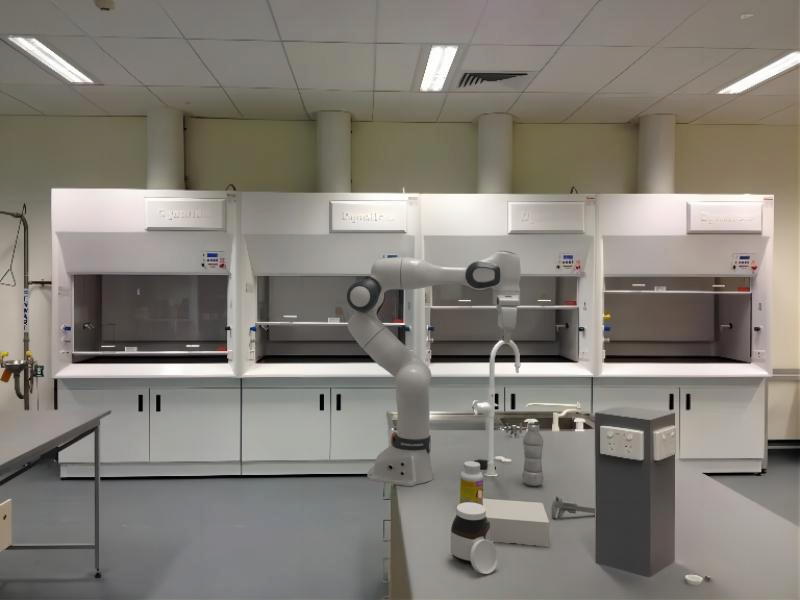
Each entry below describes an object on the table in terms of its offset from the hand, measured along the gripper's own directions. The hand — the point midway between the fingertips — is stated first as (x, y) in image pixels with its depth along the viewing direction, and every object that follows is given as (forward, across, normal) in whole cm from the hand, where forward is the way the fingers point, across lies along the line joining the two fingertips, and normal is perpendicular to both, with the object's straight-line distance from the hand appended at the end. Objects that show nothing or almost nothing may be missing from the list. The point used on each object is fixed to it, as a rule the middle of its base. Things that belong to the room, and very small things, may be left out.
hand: (505, 342), depth 164 cm
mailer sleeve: (+47, +35, -1) cm, 59 cm away
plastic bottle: (+47, -1, +10) cm, 48 cm away
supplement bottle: (+47, +20, -11) cm, 53 cm away
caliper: (+47, +22, +21) cm, 56 cm away
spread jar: (+47, +51, -11) cm, 70 cm away
